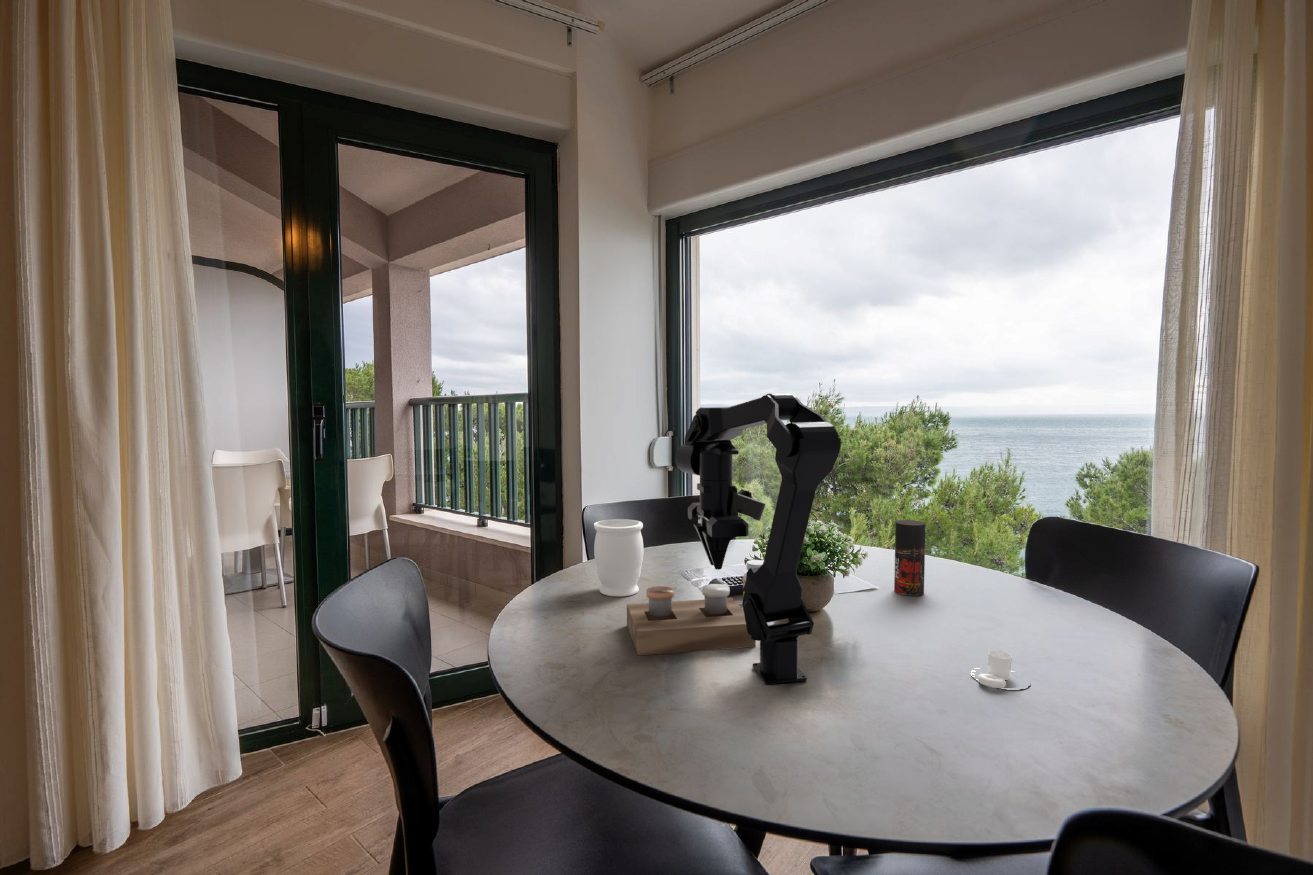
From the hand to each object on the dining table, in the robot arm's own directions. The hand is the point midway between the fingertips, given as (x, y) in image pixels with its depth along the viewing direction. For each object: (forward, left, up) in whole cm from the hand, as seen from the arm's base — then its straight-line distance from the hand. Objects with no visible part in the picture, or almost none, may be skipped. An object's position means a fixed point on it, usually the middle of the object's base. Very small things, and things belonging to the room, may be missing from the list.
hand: (716, 567), depth 114 cm
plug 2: (0, 0, -8) cm, 8 cm away
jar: (+28, +14, -12) cm, 34 cm away
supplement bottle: (+10, -11, -12) cm, 19 cm away
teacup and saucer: (-24, -34, -13) cm, 43 cm away
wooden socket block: (0, +5, -12) cm, 13 cm away
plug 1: (0, +10, -8) cm, 13 cm away
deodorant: (+16, -47, -12) cm, 51 cm away
